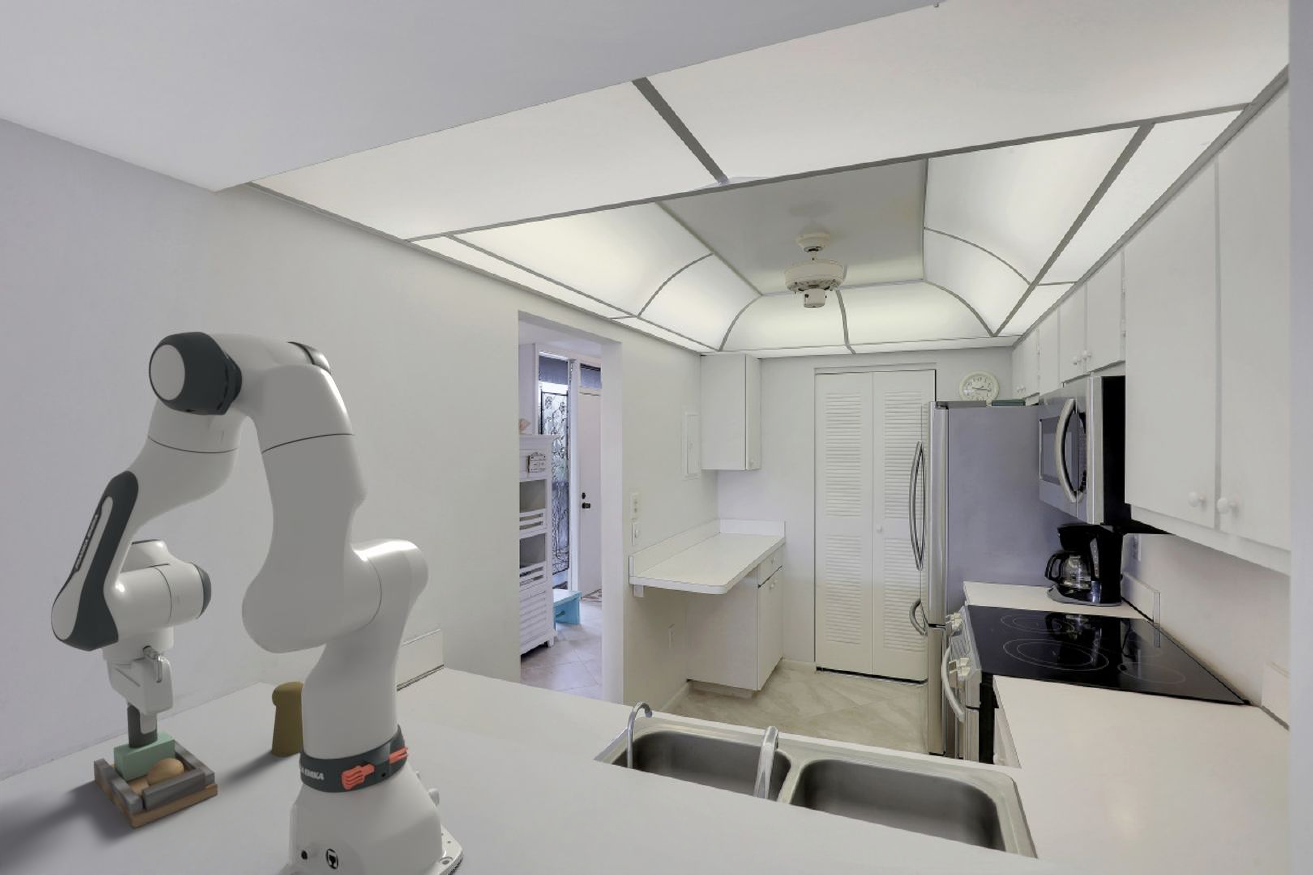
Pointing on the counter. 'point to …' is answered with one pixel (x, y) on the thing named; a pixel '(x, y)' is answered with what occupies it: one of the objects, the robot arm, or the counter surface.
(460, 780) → the counter surface
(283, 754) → the cork
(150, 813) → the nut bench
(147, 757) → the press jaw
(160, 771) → the walnut
